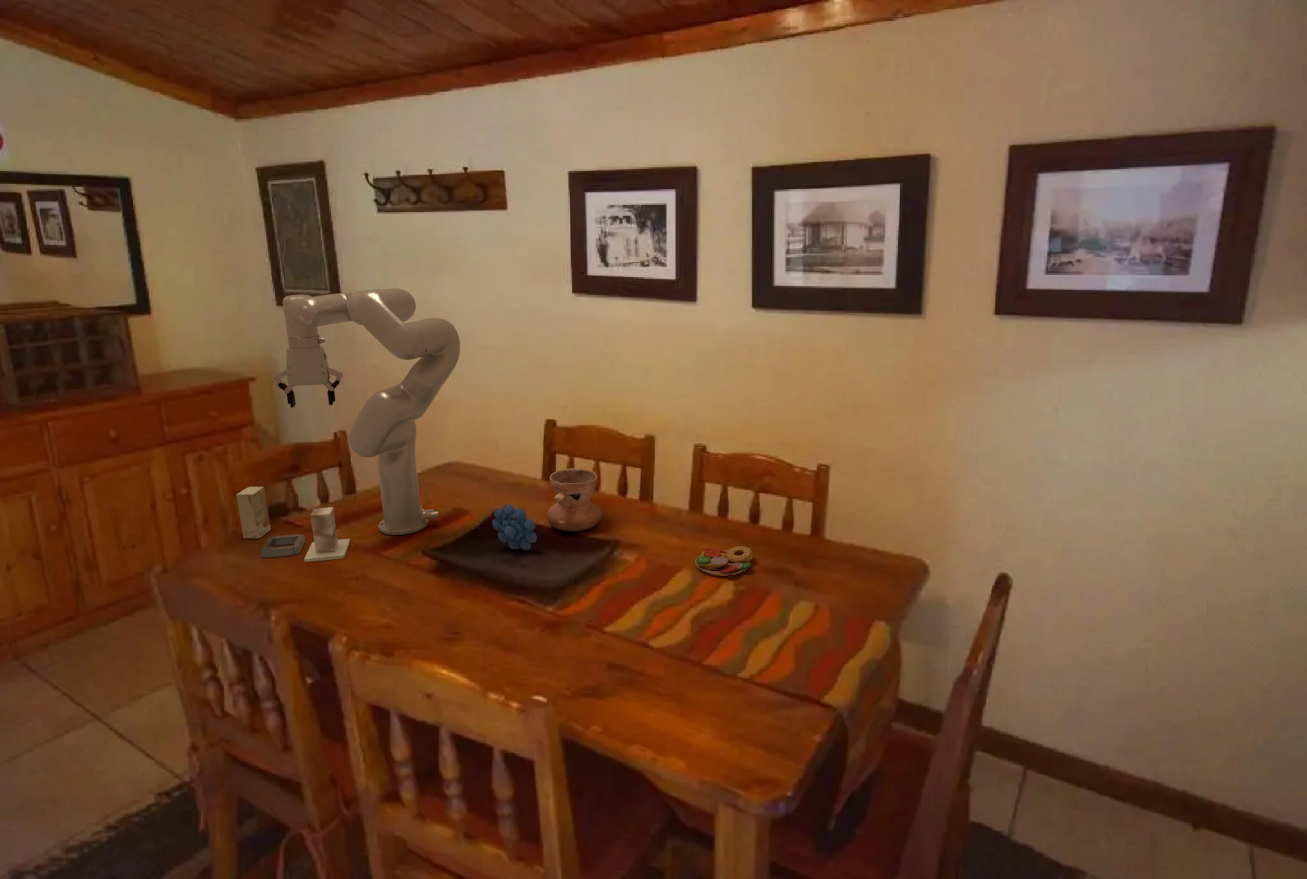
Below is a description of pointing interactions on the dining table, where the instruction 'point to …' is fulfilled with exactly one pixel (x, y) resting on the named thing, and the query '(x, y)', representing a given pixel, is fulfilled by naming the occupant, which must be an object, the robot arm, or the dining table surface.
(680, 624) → the dining table surface
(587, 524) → the ceramic jug
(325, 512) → the square peg
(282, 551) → the frame
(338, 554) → the coaster
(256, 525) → the skincare box
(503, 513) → the blue flower
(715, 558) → the toy food set
